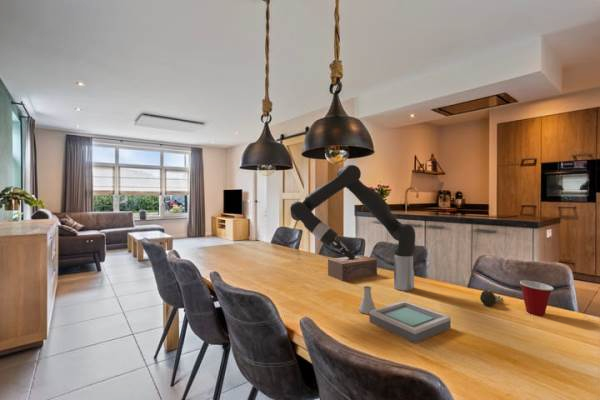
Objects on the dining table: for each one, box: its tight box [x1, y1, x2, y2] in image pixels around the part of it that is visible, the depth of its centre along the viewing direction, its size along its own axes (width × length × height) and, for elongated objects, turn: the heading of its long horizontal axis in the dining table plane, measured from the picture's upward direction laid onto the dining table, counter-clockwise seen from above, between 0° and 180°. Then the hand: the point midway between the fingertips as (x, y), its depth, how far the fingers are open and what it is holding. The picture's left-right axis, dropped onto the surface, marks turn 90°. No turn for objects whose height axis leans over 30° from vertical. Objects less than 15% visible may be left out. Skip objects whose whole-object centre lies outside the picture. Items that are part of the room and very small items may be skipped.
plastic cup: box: [519, 280, 554, 317], centre depth 120 cm, size 11×11×12 cm
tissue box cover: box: [327, 254, 378, 282], centre depth 181 cm, size 26×14×10 cm, turn 118°
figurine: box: [479, 289, 504, 307], centre depth 133 cm, size 8×6×15 cm
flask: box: [358, 285, 377, 315], centre depth 123 cm, size 7×7×10 cm
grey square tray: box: [369, 300, 452, 344], centre depth 110 cm, size 20×20×4 cm
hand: (353, 258), depth 129 cm, fingers open, 8 cm apart
